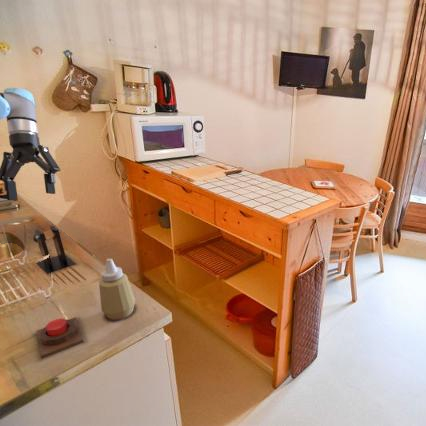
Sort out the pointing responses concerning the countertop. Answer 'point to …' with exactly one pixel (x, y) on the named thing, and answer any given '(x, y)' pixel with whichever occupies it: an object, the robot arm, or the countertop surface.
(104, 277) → the squeeze bottle
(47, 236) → the lever
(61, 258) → the bracket
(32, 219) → the countertop surface
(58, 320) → the button
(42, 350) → the button box
